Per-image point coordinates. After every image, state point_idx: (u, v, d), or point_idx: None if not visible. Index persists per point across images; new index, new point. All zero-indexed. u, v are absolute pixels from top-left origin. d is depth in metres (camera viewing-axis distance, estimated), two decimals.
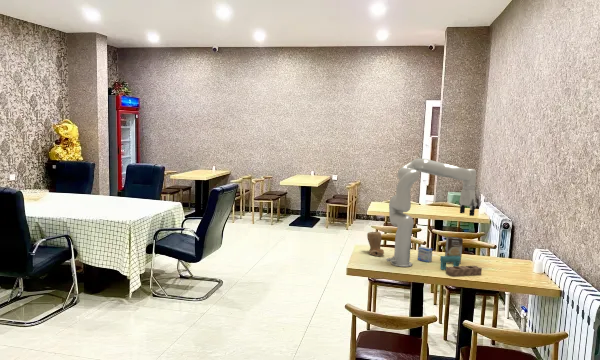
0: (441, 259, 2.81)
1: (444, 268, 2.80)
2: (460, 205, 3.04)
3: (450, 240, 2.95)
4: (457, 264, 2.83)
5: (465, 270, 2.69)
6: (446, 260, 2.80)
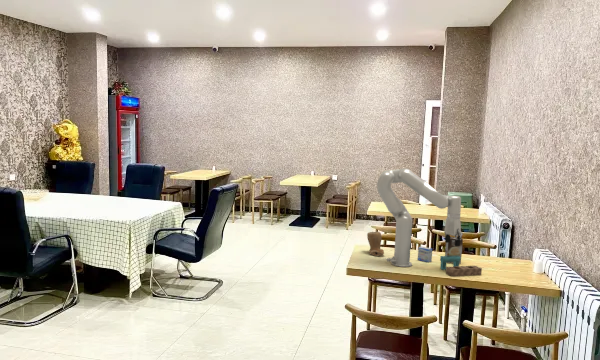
0: (441, 259, 2.81)
1: (444, 268, 2.80)
2: (445, 234, 2.86)
3: (450, 240, 2.95)
4: (457, 264, 2.83)
5: (465, 270, 2.69)
6: (446, 260, 2.80)
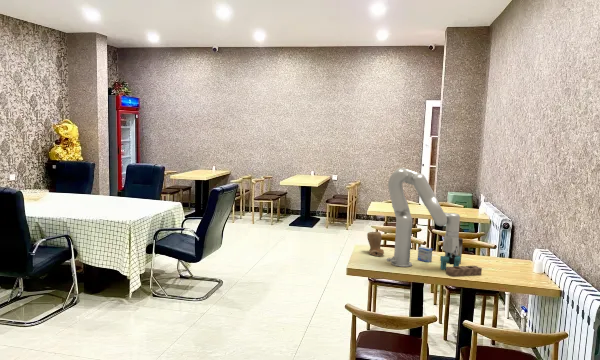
0: (441, 259, 2.81)
1: (444, 268, 2.80)
2: (446, 254, 2.84)
3: None
4: (457, 264, 2.83)
5: (465, 270, 2.69)
6: (446, 260, 2.80)
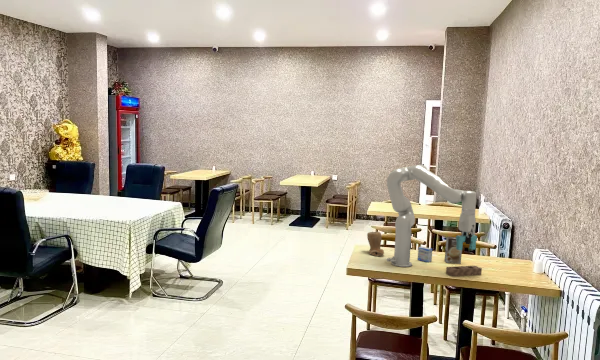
0: (457, 239, 2.69)
1: (460, 248, 2.69)
2: (462, 234, 2.73)
3: (450, 240, 2.95)
4: (473, 243, 2.71)
5: (465, 270, 2.69)
6: (462, 239, 2.68)
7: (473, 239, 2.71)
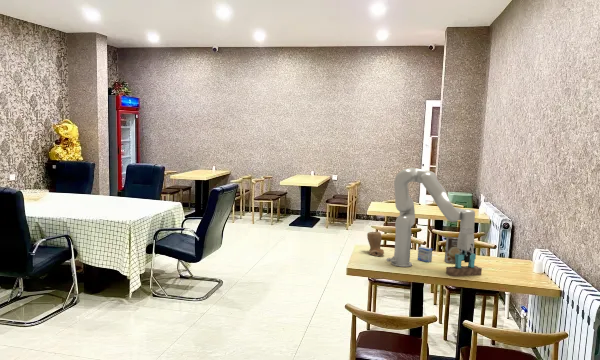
0: (456, 257, 2.70)
1: (459, 266, 2.70)
2: (460, 252, 2.74)
3: (450, 240, 2.95)
4: (472, 262, 2.72)
5: (465, 270, 2.69)
6: (461, 258, 2.69)
7: (472, 257, 2.72)
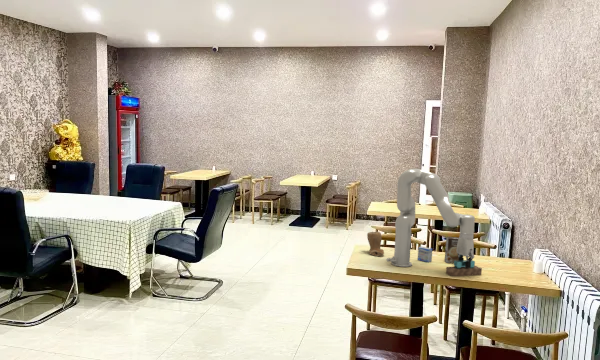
0: (455, 264, 2.71)
1: None
2: (458, 256, 2.76)
3: (450, 240, 2.95)
4: None
5: (465, 270, 2.69)
6: (460, 265, 2.70)
7: (471, 264, 2.72)
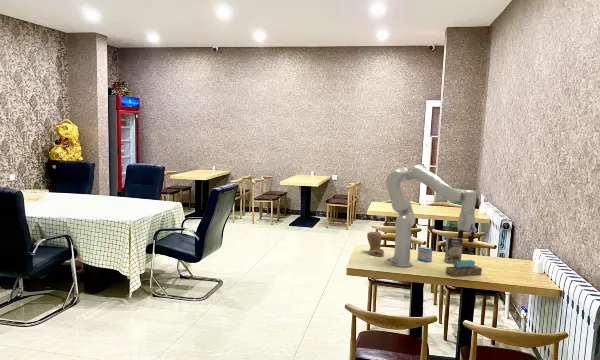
0: (455, 264, 2.71)
1: None
2: (458, 229, 2.76)
3: (450, 240, 2.95)
4: None
5: (465, 270, 2.69)
6: (460, 265, 2.70)
7: (471, 264, 2.72)
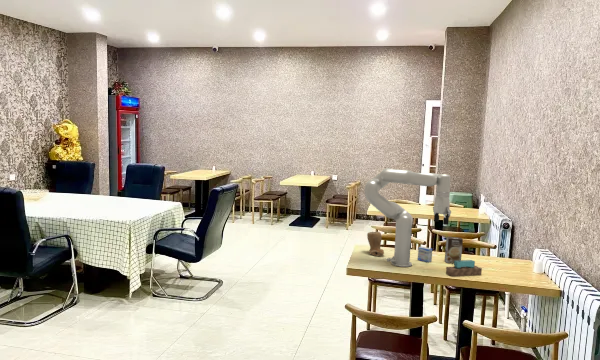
0: (455, 264, 2.71)
1: None
2: (434, 213, 2.85)
3: (450, 240, 2.95)
4: None
5: (465, 270, 2.69)
6: (460, 265, 2.70)
7: (471, 264, 2.72)
